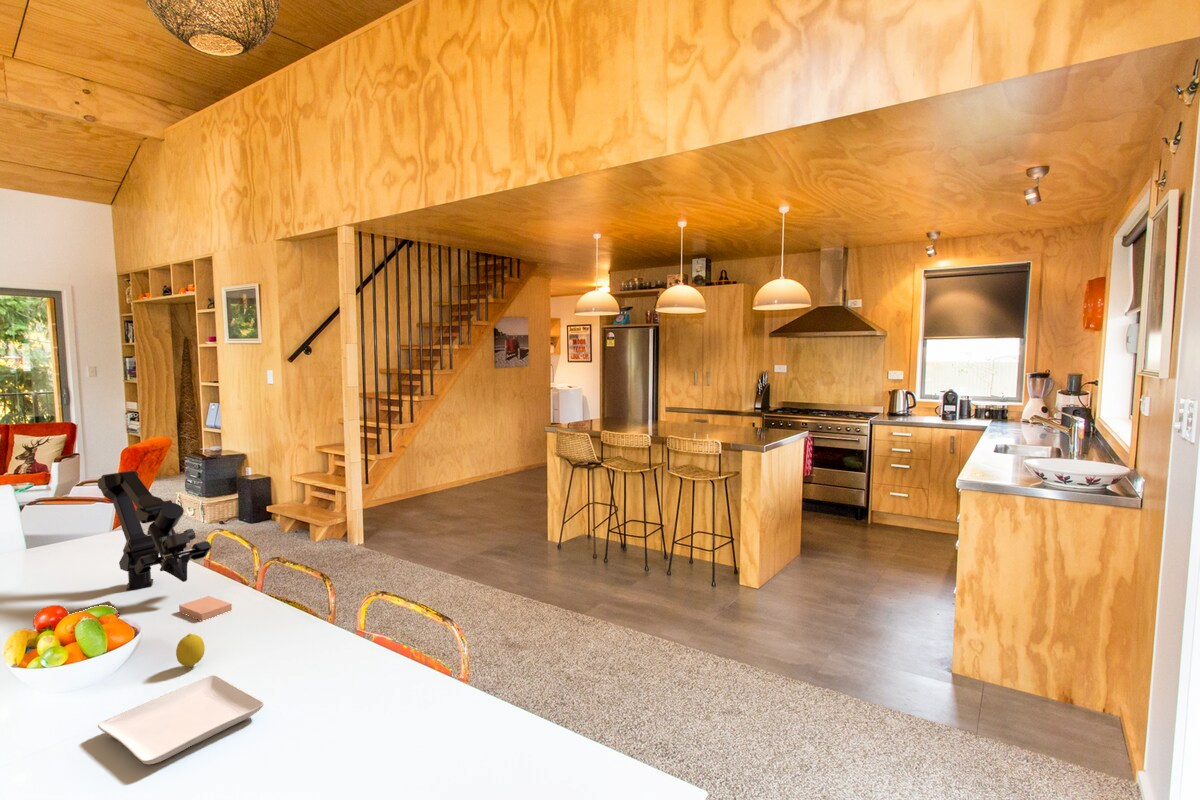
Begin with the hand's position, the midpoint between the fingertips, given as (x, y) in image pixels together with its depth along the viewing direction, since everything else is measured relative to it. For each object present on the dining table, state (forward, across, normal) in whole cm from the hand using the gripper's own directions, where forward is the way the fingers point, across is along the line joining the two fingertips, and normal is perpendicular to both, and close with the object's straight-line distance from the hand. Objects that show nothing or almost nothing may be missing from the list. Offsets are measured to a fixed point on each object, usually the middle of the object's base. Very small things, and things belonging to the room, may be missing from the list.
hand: (185, 580), depth 178 cm
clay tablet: (-5, -18, +16) cm, 24 cm away
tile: (+8, 0, +1) cm, 8 cm away
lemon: (+34, -19, -25) cm, 46 cm away
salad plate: (+50, -31, -42) cm, 73 cm away
